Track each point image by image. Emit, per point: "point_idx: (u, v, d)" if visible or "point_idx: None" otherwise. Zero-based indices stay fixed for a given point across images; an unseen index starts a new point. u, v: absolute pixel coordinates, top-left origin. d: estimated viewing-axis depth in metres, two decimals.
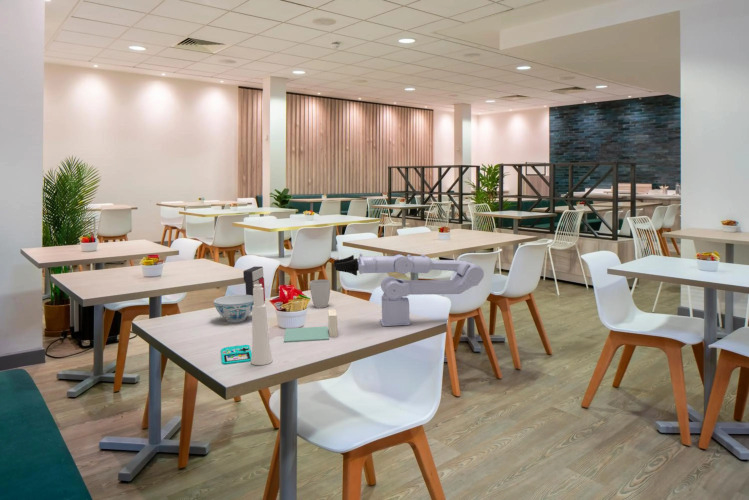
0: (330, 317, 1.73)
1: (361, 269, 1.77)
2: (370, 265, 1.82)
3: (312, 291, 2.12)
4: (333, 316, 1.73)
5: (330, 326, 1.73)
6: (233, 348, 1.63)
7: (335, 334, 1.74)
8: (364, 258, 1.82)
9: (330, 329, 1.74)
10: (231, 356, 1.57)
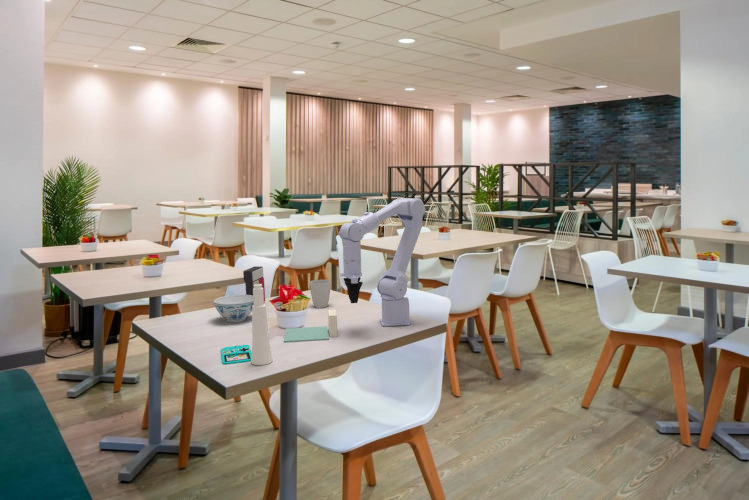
0: (330, 317, 1.73)
1: (356, 280, 1.69)
2: (352, 267, 1.73)
3: (312, 291, 2.12)
4: (333, 316, 1.73)
5: (330, 326, 1.73)
6: (233, 348, 1.63)
7: (335, 334, 1.74)
8: (345, 272, 1.74)
9: (330, 329, 1.74)
10: (231, 356, 1.57)
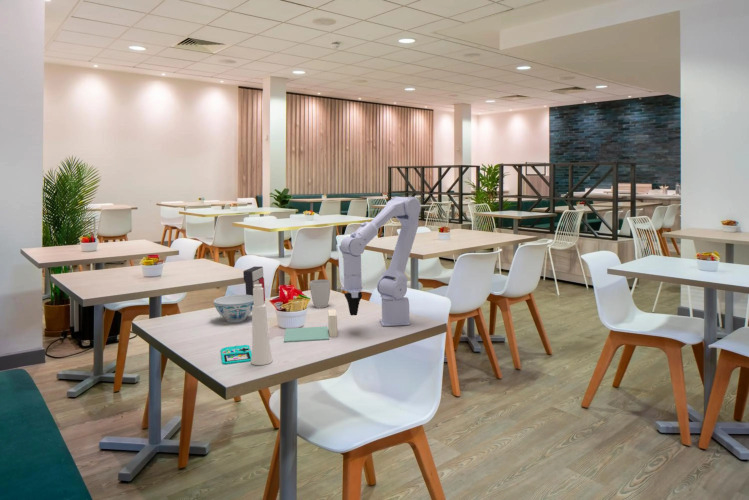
0: (330, 317, 1.73)
1: (356, 295, 1.70)
2: (352, 281, 1.74)
3: (312, 291, 2.12)
4: (333, 316, 1.73)
5: (330, 326, 1.73)
6: (233, 348, 1.63)
7: (335, 334, 1.74)
8: (345, 286, 1.75)
9: (330, 329, 1.74)
10: (231, 356, 1.57)
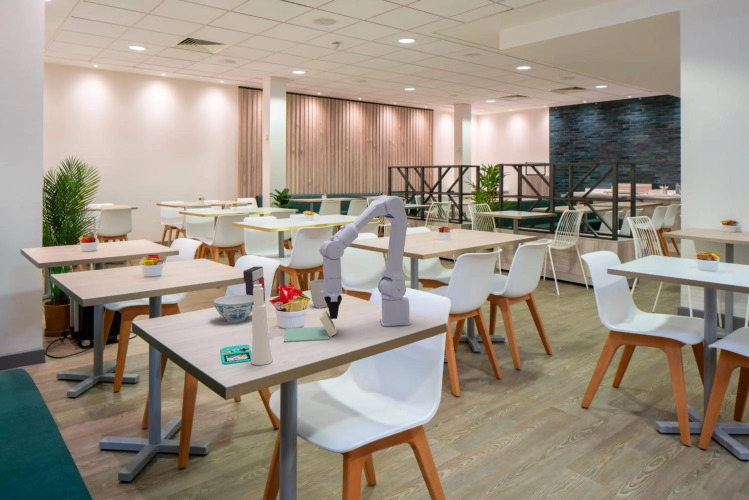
0: (321, 319, 1.73)
1: (335, 298, 1.69)
2: (332, 285, 1.73)
3: (312, 291, 2.12)
4: (323, 317, 1.73)
5: (325, 327, 1.73)
6: (233, 348, 1.63)
7: (333, 332, 1.74)
8: (325, 289, 1.74)
9: (327, 329, 1.74)
10: (231, 356, 1.57)
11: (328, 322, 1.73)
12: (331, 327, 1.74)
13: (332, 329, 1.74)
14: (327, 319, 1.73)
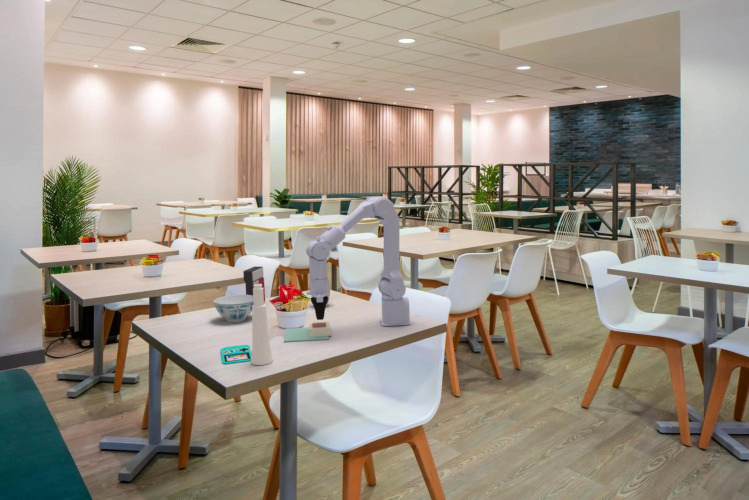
0: (310, 335, 1.73)
1: (321, 299, 1.69)
2: (318, 286, 1.72)
3: None
4: (309, 332, 1.73)
5: (320, 335, 1.73)
6: (233, 348, 1.63)
7: (328, 329, 1.74)
8: (311, 290, 1.74)
9: (323, 334, 1.74)
10: (231, 356, 1.57)
11: (316, 330, 1.73)
12: (323, 330, 1.73)
13: (325, 330, 1.73)
14: (313, 330, 1.73)
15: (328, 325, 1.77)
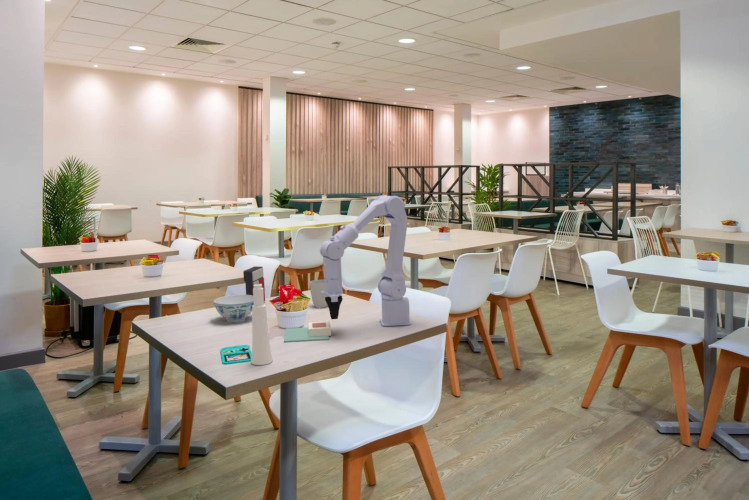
0: (310, 335, 1.73)
1: (336, 299, 1.69)
2: (332, 285, 1.73)
3: (312, 291, 2.12)
4: (309, 332, 1.73)
5: (320, 335, 1.73)
6: (232, 348, 1.63)
7: (328, 329, 1.74)
8: (326, 290, 1.74)
9: (323, 334, 1.74)
10: (231, 356, 1.57)
11: (316, 330, 1.73)
12: (323, 330, 1.73)
13: (325, 330, 1.73)
14: (313, 330, 1.73)
15: (328, 325, 1.77)
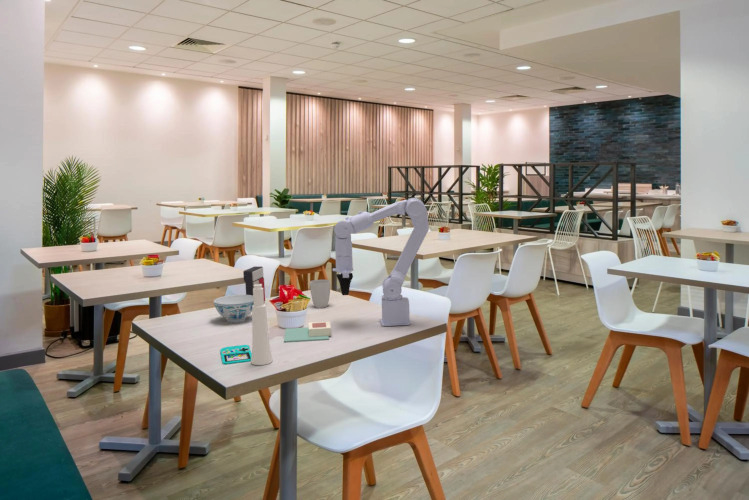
0: (310, 335, 1.73)
1: (347, 275, 1.79)
2: (343, 262, 1.83)
3: (312, 291, 2.12)
4: (309, 332, 1.73)
5: (320, 335, 1.73)
6: (232, 348, 1.63)
7: (328, 329, 1.74)
8: (337, 267, 1.84)
9: (323, 334, 1.74)
10: (231, 356, 1.57)
11: (316, 330, 1.73)
12: (323, 330, 1.73)
13: (325, 330, 1.73)
14: (313, 330, 1.73)
15: (328, 325, 1.77)
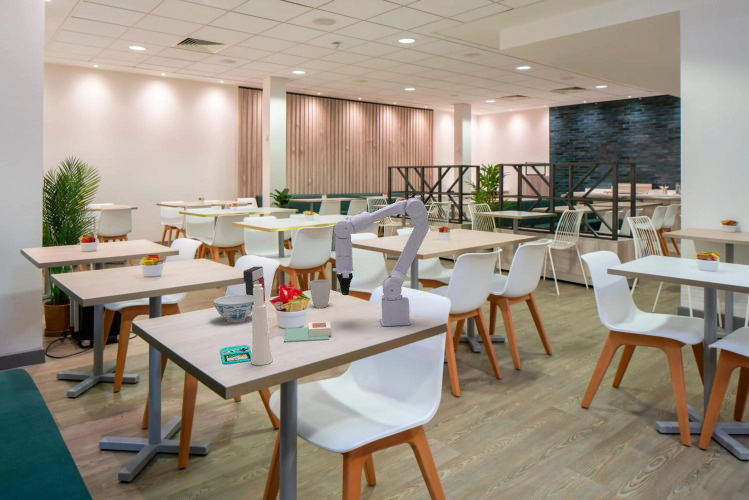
0: (310, 335, 1.73)
1: (347, 275, 1.79)
2: (343, 262, 1.83)
3: (312, 291, 2.12)
4: (309, 332, 1.73)
5: (320, 335, 1.73)
6: (232, 348, 1.63)
7: (328, 329, 1.74)
8: (337, 267, 1.84)
9: (323, 334, 1.74)
10: (231, 356, 1.57)
11: (316, 330, 1.73)
12: (323, 330, 1.73)
13: (325, 330, 1.73)
14: (313, 330, 1.73)
15: (328, 325, 1.77)
